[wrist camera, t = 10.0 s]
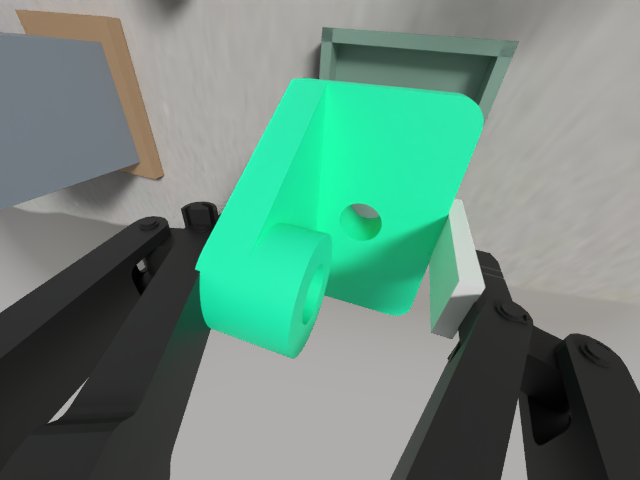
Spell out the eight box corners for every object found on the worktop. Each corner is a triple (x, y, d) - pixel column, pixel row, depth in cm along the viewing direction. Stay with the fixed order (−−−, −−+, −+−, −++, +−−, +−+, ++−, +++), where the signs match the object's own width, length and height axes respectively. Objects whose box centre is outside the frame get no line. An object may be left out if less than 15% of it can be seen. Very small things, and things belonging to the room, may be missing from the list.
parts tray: (317, 213, 30) (309, 224, 28) (332, 30, 20) (322, 27, 18) (429, 240, 27) (429, 254, 25) (508, 44, 18) (518, 41, 16)
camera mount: (408, 290, 18) (394, 474, 10) (305, 262, 20) (222, 399, 12) (481, 93, 11) (634, 170, 3) (313, 76, 13) (120, 97, 5)
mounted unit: (95, 159, 37) (-120, 221, 22) (32, 11, 28) (-409, -49, 13) (164, 175, 34) (-29, 257, 20) (119, 18, 25) (-308, -46, 10)
